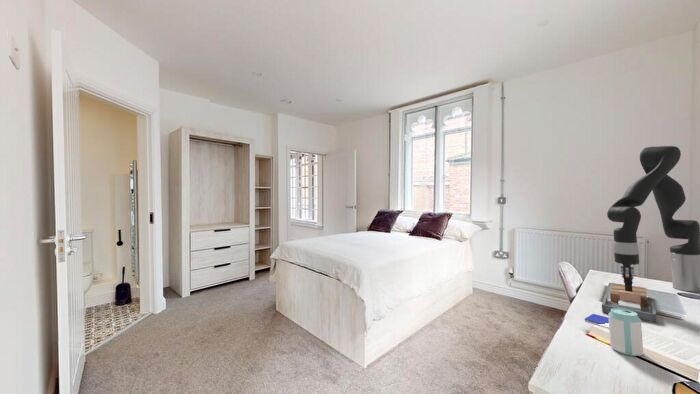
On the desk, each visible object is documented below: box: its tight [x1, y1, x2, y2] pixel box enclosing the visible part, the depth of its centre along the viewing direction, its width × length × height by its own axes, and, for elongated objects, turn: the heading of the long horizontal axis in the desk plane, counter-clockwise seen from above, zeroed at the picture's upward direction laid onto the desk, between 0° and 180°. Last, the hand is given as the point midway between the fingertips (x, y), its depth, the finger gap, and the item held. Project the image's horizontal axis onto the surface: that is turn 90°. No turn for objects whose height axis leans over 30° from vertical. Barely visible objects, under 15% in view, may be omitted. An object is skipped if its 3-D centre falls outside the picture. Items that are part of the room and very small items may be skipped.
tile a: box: [619, 290, 641, 307], centre depth 112 cm, size 6×6×2 cm
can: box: [607, 308, 644, 357], centre depth 82 cm, size 7×7×12 cm
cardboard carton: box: [609, 282, 649, 308], centre depth 121 cm, size 18×11×4 cm, turn 133°
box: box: [601, 294, 658, 324], centre depth 109 cm, size 16×15×3 cm
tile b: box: [619, 301, 641, 311], centre depth 108 cm, size 6×6×2 cm
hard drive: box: [584, 313, 609, 326], centre depth 99 cm, size 2×8×12 cm
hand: (628, 291), depth 117 cm, fingers closed
